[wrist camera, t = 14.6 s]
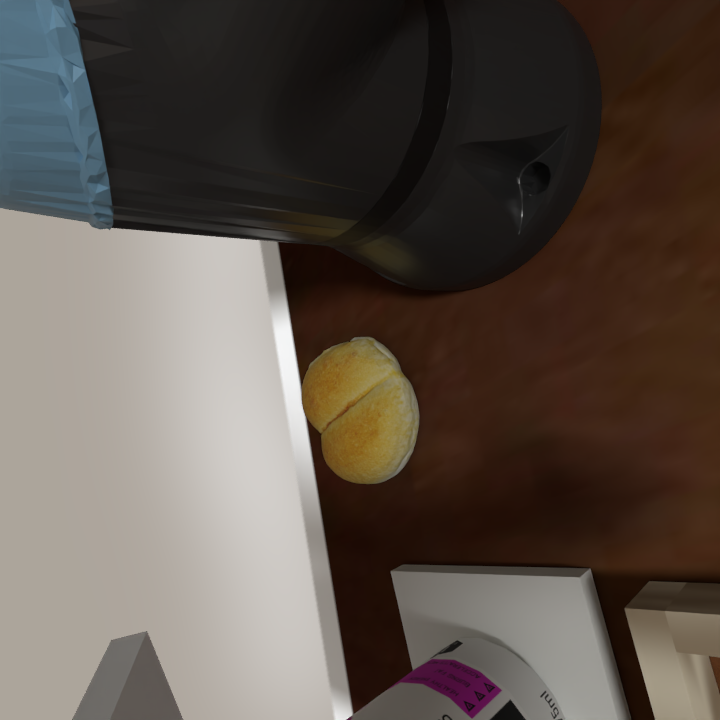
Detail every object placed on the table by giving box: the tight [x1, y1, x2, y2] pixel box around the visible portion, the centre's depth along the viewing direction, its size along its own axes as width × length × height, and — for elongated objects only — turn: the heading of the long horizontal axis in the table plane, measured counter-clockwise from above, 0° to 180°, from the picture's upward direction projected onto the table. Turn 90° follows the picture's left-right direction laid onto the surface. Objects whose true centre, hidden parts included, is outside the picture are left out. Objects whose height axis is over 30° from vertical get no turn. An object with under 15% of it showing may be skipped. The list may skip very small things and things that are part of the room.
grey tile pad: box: [391, 564, 631, 720], centre depth 28 cm, size 14×12×1 cm
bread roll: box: [302, 337, 419, 484], centre depth 34 cm, size 8×9×4 cm
